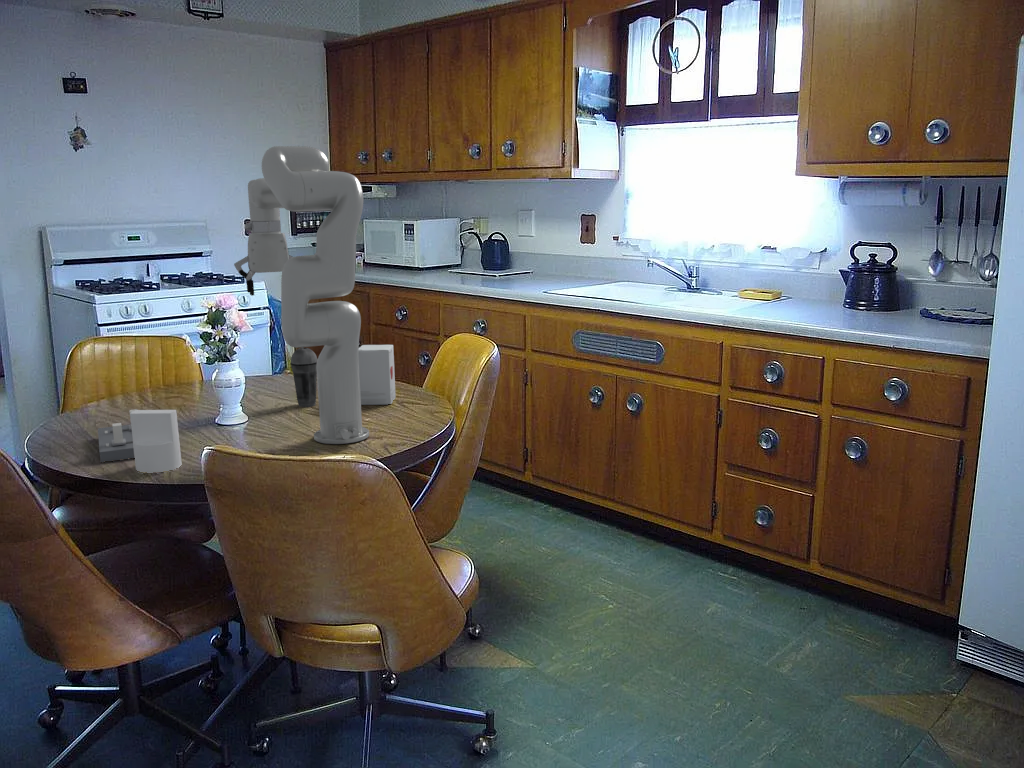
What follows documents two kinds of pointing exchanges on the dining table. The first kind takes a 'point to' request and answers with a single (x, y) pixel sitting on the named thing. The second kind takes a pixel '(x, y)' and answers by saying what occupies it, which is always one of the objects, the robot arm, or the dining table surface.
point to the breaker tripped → (130, 419)
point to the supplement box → (376, 374)
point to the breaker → (118, 435)
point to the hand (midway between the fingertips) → (270, 293)
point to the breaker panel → (116, 451)
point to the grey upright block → (155, 440)
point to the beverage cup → (305, 376)
